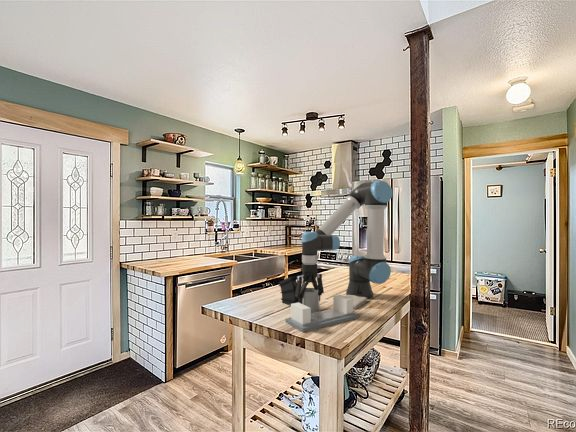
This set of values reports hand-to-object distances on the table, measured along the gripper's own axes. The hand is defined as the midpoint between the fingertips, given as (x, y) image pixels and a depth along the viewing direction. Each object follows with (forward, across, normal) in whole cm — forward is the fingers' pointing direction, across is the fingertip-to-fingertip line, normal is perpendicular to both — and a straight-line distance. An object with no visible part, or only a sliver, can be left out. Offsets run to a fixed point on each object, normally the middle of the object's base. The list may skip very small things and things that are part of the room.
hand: (309, 309), depth 147 cm
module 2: (-2, -9, +14) cm, 17 cm away
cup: (+1, 0, 0) cm, 1 cm away
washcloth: (+1, -26, +2) cm, 26 cm away
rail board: (0, +3, +14) cm, 14 cm away
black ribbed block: (+1, +3, -14) cm, 14 cm away
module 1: (-2, +15, +14) cm, 21 cm away
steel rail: (-1, +3, +14) cm, 14 cm away
